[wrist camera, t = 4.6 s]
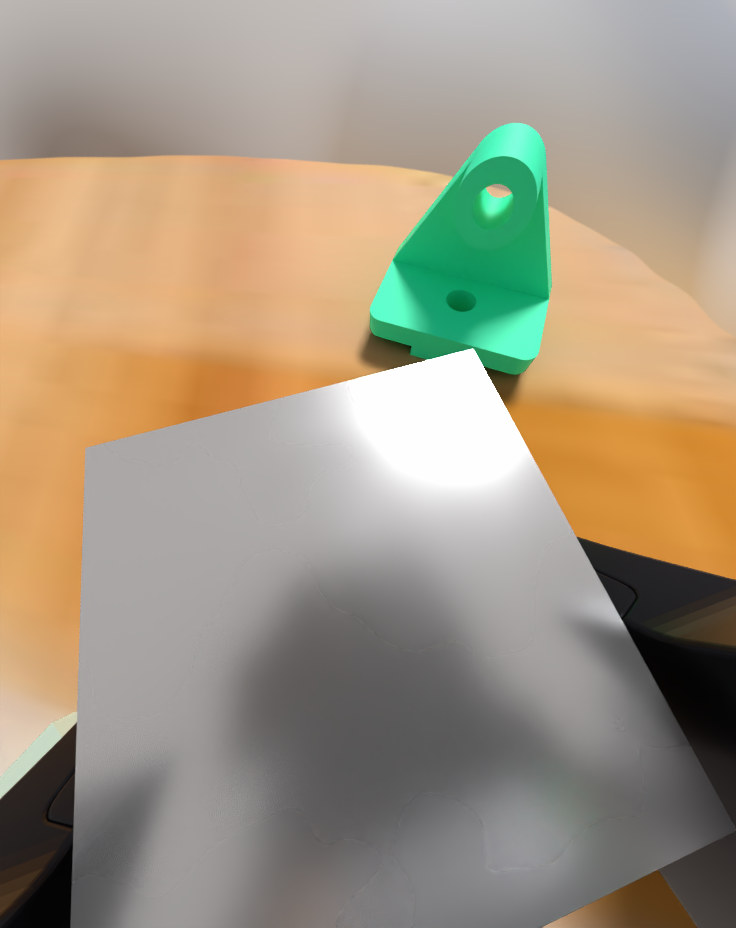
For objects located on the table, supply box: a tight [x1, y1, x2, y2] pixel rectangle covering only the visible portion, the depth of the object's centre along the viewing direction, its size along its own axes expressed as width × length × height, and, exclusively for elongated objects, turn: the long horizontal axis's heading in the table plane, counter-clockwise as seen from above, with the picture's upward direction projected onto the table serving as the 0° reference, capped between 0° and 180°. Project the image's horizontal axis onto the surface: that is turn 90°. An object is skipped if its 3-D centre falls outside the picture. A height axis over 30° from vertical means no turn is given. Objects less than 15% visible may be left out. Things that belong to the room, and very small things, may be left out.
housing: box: [70, 349, 736, 928], centre depth 8 cm, size 6×6×10 cm
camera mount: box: [370, 123, 552, 375], centre depth 19 cm, size 12×8×10 cm, turn 70°
